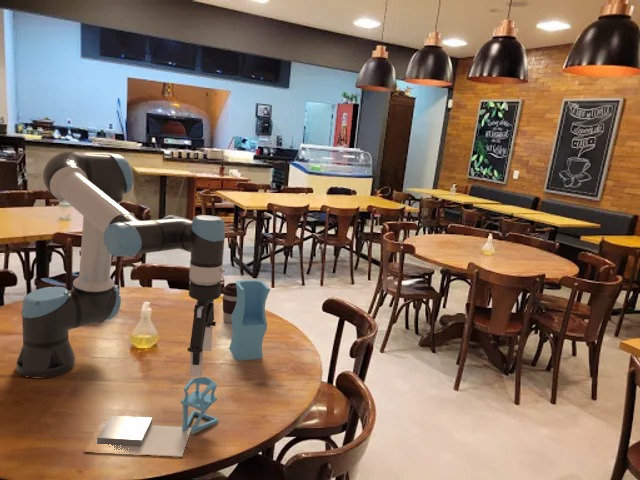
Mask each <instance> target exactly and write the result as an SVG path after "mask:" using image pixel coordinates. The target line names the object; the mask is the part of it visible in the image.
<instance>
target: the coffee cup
mask: <svg viewBox="0 0 640 480" xmlns="http://www.w3.org/2000/svg"><path fill="white" fill-rule="evenodd" d="M221 294H223V295H222V313H223V314H222V315H223V319H222V320H223V322H225V323H227V324H231V325H232V319H231V316H232V313H233V311H234V309H235V306H236V303H237V288H236V282H230V283H227V284H226V285H225V286H223V287H221Z"/></svg>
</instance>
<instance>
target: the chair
mask: <svg viewBox="0 0 640 480" xmlns="http://www.w3.org/2000/svg"><path fill="white" fill-rule="evenodd" d="M193 384H196V386H195V391H193V392H192V393H190V394H189V393H188V390H189V389H190V387H192V385H193ZM200 384H201V385H206V387H205V388H204V390H203V391H200ZM185 385H186V386H185V387H184V388H183V390H184V391H183V392H184V398H183V399H181V400H180V404H181V405H182V426H181V427H182V430H183V431H185V430H186V429H187V428H188V427H189V426H190V424H191V422H192V420H193V418H194V416H198V417H197V419H196V420H195V421H194V423H193V425H192V428H191V433H190V435H191V434H193V435H194V434H195V433H197V432H199V431H201V430H202V431H203V430H204V429H207V428H209V427H211V426H213V425H215V424H218V422H219V418H218V417H214V416H212V415H209V414H207V413H206V412H207V411H208V409H209V408H210V407H211V406H212V404H214V403H216V402H217V401H218V397H217V396H215V393H216V390H217V387H218V384H217V383H216V382H215V380H213V379H211V378H210V377H207V376H206V377H205V376H202V377H196V378H192V379H190V380H189V381H187V383H186V384H185ZM209 392H211V393H210V394H208V393H209ZM189 407H192V408H194V409H196V410H193V411H191V413H190V414H188V413H189ZM188 415H189V416H188ZM203 418H204V419H206V420H208V421H206V422H204V423H201V420H202V419H203ZM199 423H201V424H199Z"/></svg>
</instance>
